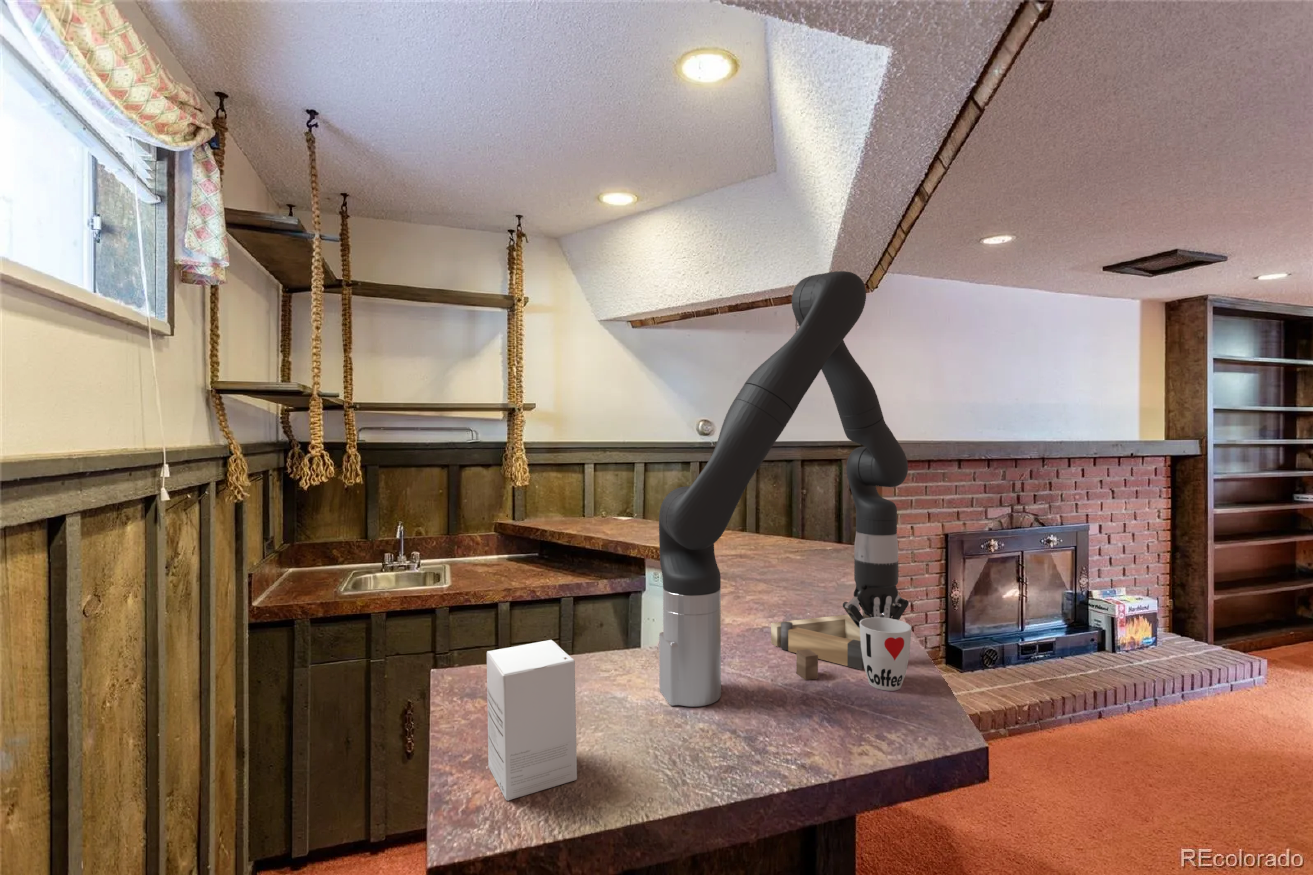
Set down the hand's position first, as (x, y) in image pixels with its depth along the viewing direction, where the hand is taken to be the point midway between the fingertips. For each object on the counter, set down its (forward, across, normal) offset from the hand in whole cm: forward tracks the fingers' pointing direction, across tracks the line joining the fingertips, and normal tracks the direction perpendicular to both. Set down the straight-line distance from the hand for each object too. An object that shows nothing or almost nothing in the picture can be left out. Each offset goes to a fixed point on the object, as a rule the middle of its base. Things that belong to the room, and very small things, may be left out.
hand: (875, 652), depth 113 cm
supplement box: (+2, -64, -18) cm, 66 cm away
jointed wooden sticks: (+2, -6, +6) cm, 9 cm away
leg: (+2, -8, +5) cm, 10 cm away
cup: (+2, -4, -8) cm, 10 cm away
